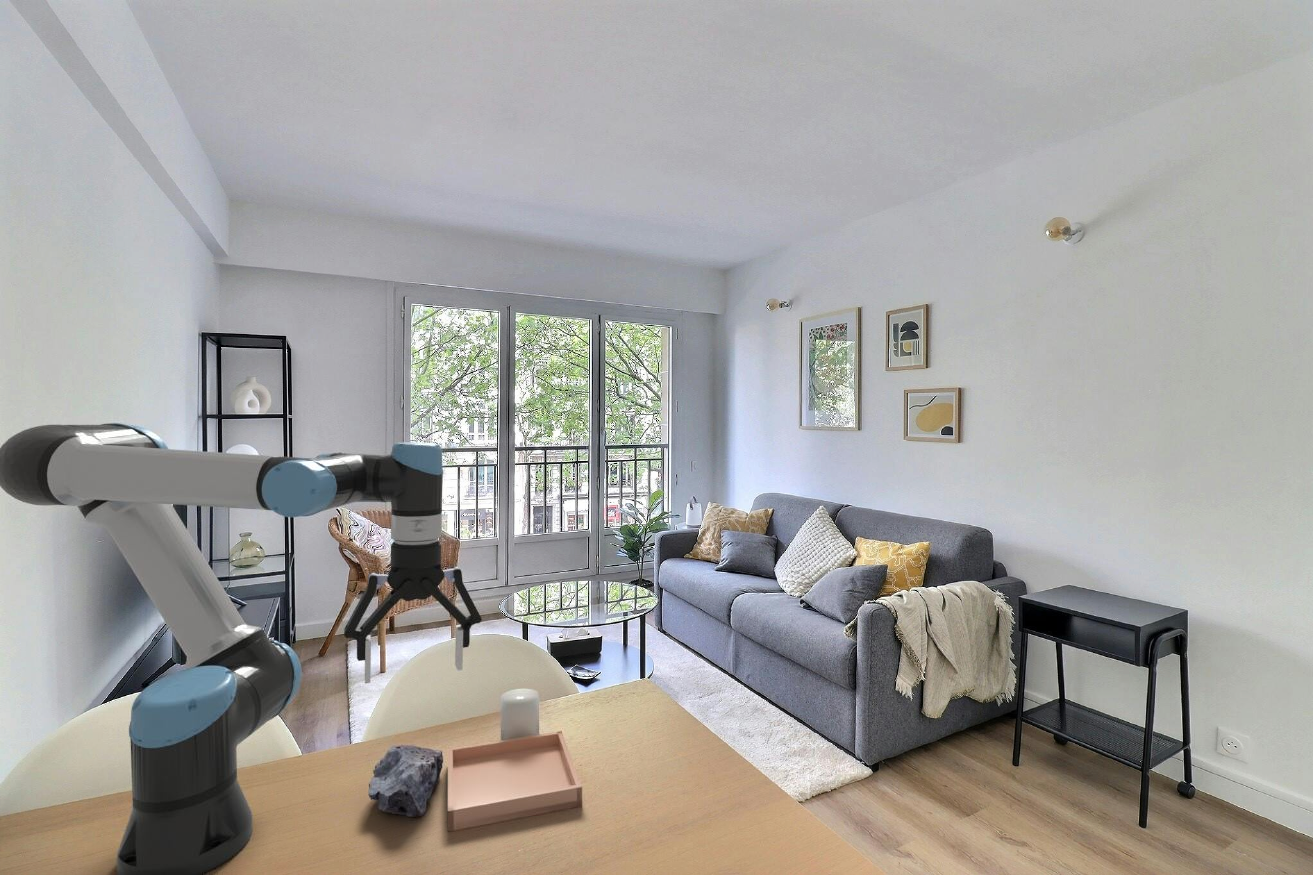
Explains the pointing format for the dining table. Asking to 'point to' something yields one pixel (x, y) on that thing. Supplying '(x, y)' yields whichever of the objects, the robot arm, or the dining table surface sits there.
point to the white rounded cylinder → (519, 713)
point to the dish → (510, 780)
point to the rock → (405, 779)
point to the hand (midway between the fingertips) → (414, 673)
